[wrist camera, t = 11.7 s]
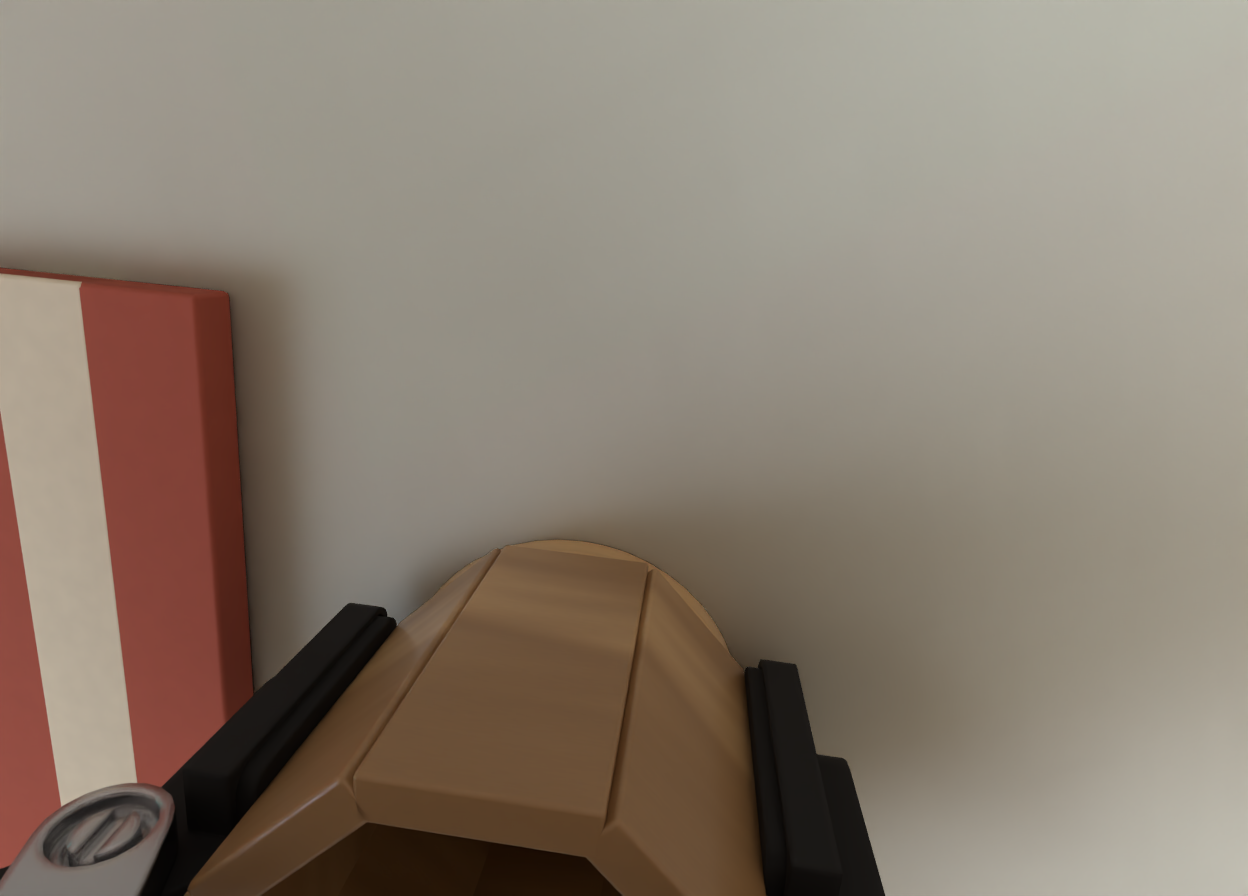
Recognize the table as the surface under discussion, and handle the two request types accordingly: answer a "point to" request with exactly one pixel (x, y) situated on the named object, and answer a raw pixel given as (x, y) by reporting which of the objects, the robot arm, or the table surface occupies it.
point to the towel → (114, 538)
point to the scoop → (521, 749)
